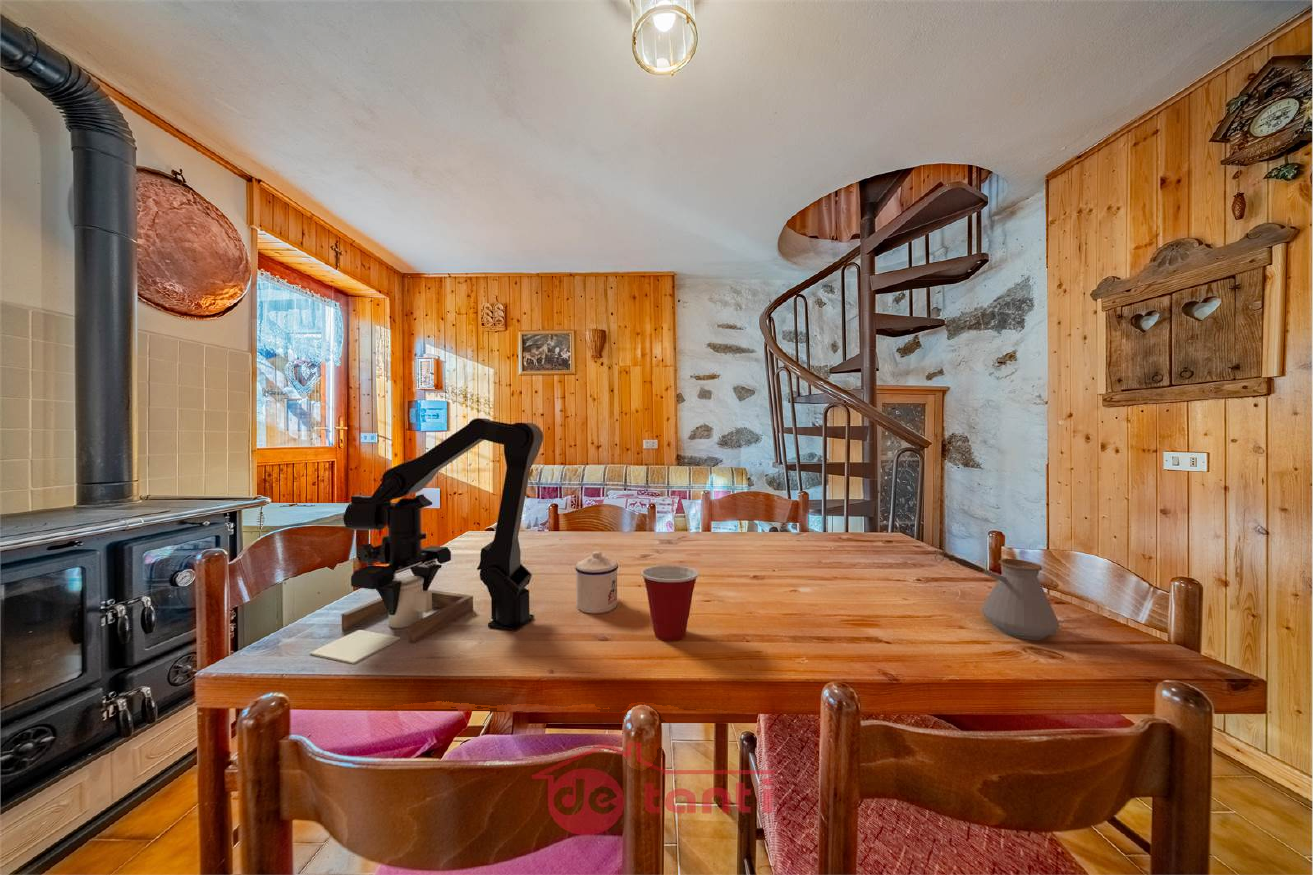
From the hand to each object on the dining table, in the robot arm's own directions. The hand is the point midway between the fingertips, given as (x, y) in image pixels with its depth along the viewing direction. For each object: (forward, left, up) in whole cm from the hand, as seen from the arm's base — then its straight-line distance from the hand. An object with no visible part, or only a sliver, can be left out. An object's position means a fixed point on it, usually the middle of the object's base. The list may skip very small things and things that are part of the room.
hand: (406, 608), depth 89 cm
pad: (0, +11, -3) cm, 11 cm away
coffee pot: (-109, -31, -3) cm, 113 cm away
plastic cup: (-51, -11, -3) cm, 52 cm away
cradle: (0, -1, -3) cm, 3 cm away
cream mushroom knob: (-1, 0, -3) cm, 3 cm away
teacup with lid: (-32, -20, -3) cm, 38 cm away
